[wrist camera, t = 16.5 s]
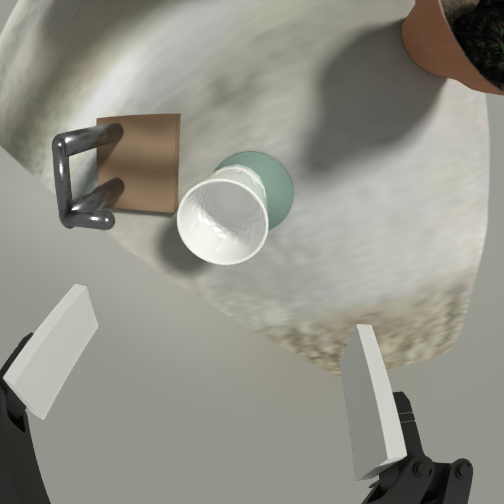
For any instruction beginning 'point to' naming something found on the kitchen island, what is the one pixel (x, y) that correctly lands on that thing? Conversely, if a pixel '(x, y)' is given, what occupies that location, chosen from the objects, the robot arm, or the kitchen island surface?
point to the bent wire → (86, 205)
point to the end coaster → (268, 182)
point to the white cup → (225, 216)
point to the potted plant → (459, 41)
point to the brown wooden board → (143, 162)
